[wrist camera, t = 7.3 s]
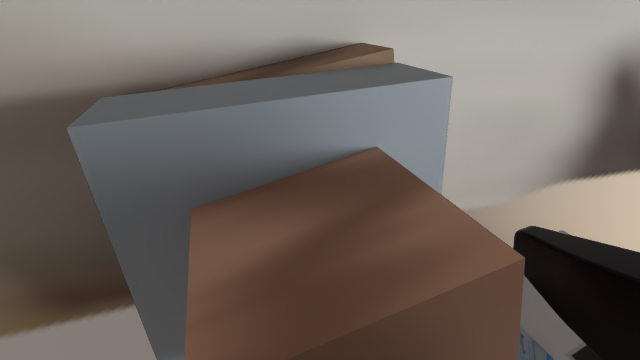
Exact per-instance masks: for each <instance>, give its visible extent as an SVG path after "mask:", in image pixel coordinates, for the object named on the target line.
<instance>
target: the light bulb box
mask: <svg viewBox="0 0 640 360" xmlns="http://www.w3.org/2000/svg"><path fill="white" fill-rule="evenodd" d="M559 232H560V233H564V234H568V233H566V232H565V231H559ZM568 235H570V234H568ZM518 360H601V359H600V358H599V357H598V356H597V355H596V354H595V353H594V352H593V351H592V350H591V349H590V348H589V347H588V346H587V345H586V344H585V343H584V342H583V341H582V340H581V339H580V338H579V337H578V336H577V335H576V334H575V333H574V332H573V331H572V330H571V329H570V328H569V327H568V326H567V325H566V324H565V322H564V321H563V320H562V319H561V318H560V317H559V316H558V315H557V314H556V313H555V312H554V310H553V309H552V308H551V307H550V306H549V304H548V303H547V302H546V301H545V300H544V298H543V297H542V296H541V295H540V294H539V292H538V291H537V290H536V289H535V288H534V286H533V285H532V284H531V283H530V282H529V281H528V279H527V278H526V277H525V276H524V281H523V294H522V307H521V320H520V334H519V347H518Z"/></svg>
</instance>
